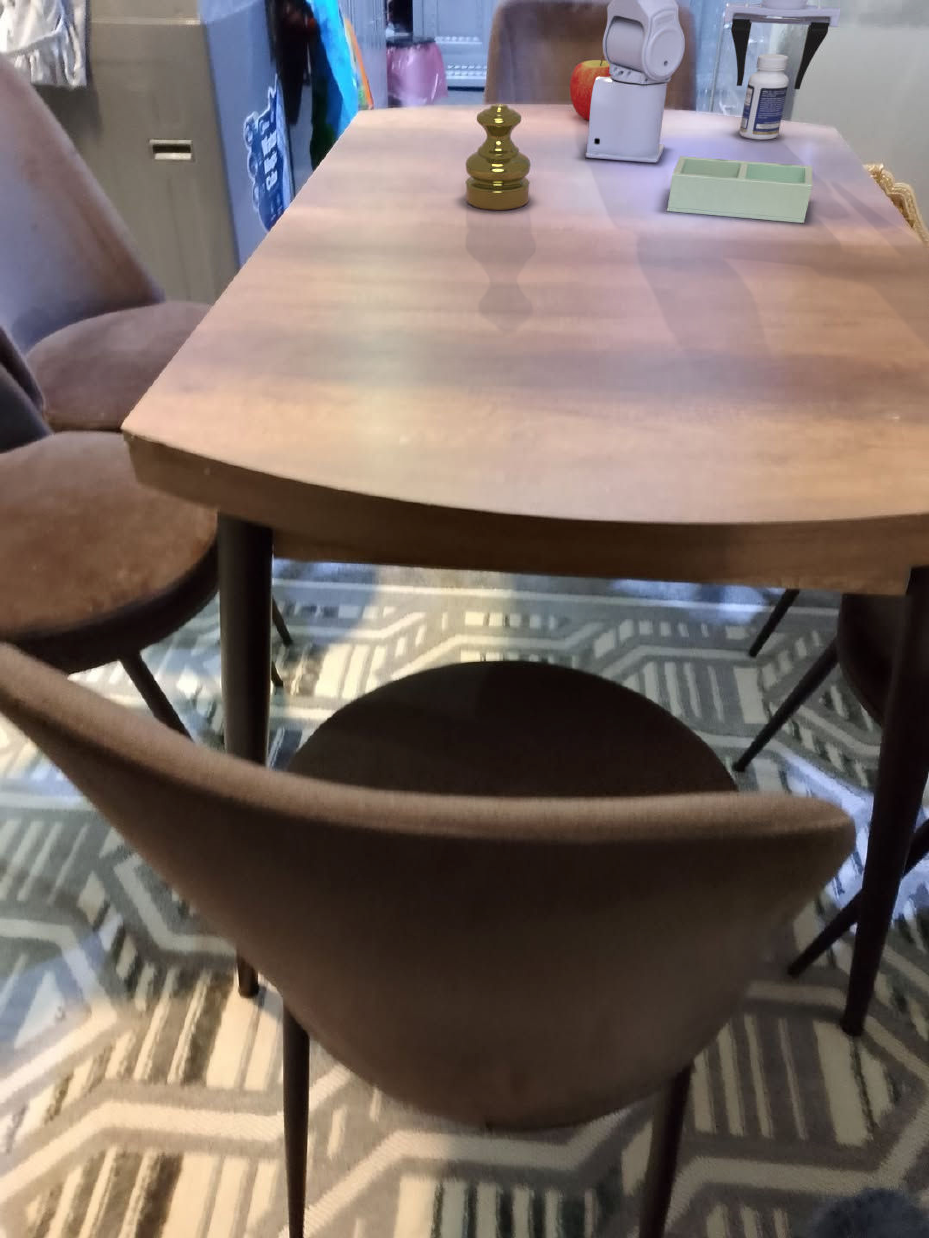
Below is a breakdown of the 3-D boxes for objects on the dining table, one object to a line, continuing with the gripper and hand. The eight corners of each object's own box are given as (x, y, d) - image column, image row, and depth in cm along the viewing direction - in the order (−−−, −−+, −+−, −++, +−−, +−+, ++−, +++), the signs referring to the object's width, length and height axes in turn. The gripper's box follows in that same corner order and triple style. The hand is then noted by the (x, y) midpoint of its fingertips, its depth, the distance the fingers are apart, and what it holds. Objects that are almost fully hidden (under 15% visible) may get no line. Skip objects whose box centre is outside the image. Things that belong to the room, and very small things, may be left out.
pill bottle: (784, 135, 129) (801, 56, 123) (765, 142, 126) (782, 61, 120) (750, 129, 132) (765, 51, 126) (731, 136, 129) (745, 56, 123)
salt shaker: (481, 215, 102) (482, 116, 96) (455, 196, 108) (455, 101, 101) (539, 206, 105) (544, 109, 98) (511, 189, 110) (514, 95, 103)
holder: (803, 223, 100) (812, 185, 98) (667, 211, 104) (672, 174, 101) (804, 202, 106) (812, 166, 104) (674, 191, 109) (679, 156, 107)
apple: (608, 129, 132) (615, 49, 126) (557, 121, 136) (561, 43, 129) (632, 118, 137) (641, 40, 131) (582, 110, 141) (588, 35, 134)
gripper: (849, -37, 118) (822, 83, 127) (735, -40, 121) (716, 77, 130) (851, -31, 113) (823, 94, 122) (731, -34, 116) (712, 87, 125)
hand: (768, 86), depth 125 cm, fingers open, 7 cm apart
